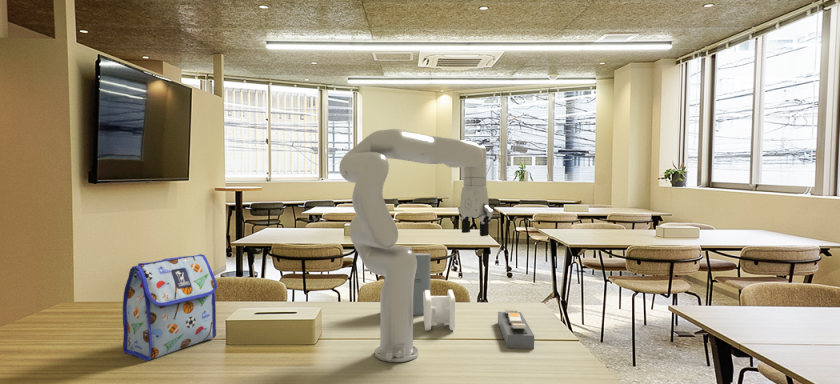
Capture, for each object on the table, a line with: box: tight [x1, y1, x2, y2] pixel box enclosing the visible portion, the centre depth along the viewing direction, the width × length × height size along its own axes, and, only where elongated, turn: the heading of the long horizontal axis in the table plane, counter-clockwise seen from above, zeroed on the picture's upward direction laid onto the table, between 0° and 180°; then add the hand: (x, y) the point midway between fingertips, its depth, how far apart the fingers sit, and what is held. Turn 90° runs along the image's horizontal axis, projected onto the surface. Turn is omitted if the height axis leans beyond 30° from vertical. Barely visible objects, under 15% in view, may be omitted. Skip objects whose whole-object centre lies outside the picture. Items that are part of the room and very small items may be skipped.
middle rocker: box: [508, 313, 522, 323], centre depth 159 cm, size 5×4×1 cm
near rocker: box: [512, 323, 526, 328], centre depth 151 cm, size 5×4×1 cm
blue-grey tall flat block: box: [383, 246, 431, 316], centre depth 182 cm, size 17×5×25 cm, turn 89°
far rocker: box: [504, 308, 519, 313], centre depth 167 cm, size 5×4×1 cm
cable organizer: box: [423, 289, 456, 332], centre depth 167 cm, size 15×11×12 cm
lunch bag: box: [122, 253, 218, 362], centre depth 145 cm, size 23×17×27 cm
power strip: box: [497, 311, 535, 350], centre depth 164 cm, size 34×8×5 cm, turn 177°
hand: (474, 234), depth 161 cm, fingers open, 9 cm apart
